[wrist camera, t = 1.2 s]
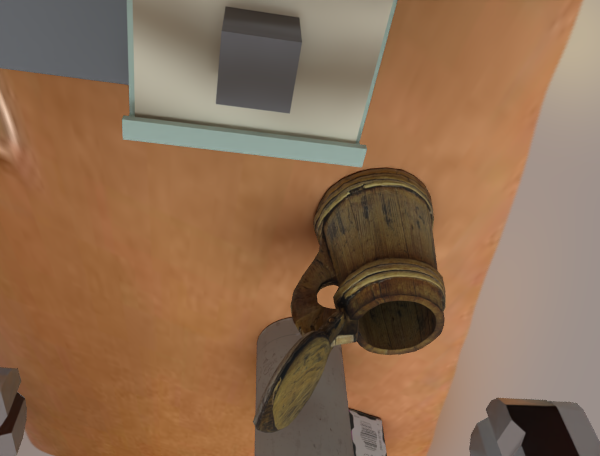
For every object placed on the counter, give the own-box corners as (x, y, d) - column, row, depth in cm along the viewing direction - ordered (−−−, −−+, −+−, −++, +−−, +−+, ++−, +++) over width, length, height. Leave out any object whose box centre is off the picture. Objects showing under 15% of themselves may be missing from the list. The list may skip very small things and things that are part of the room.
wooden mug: (255, 169, 42) (248, 380, 28) (440, 166, 42) (523, 371, 28) (260, 259, 47) (256, 470, 34) (422, 255, 48) (484, 462, 34)
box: (146, -136, 29) (114, -104, 23) (392, -91, 31) (423, -50, 25) (147, 72, 36) (122, 139, 30) (347, 99, 38) (361, 167, 32)
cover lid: (135, -93, 25) (116, -69, 22) (399, -48, 27) (417, -19, 24) (138, 110, 31) (124, 151, 28) (352, 136, 33) (360, 179, 30)
